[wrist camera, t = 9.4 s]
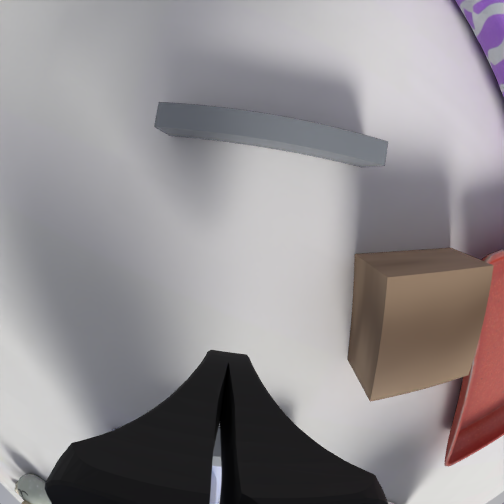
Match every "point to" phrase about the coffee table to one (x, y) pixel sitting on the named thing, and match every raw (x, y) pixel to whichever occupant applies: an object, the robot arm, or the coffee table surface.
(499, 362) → the plant saucer
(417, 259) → the walnut block
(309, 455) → the robot arm
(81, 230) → the coffee table surface
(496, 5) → the pencil case
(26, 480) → the toy dog
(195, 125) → the lane
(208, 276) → the coffee table surface
